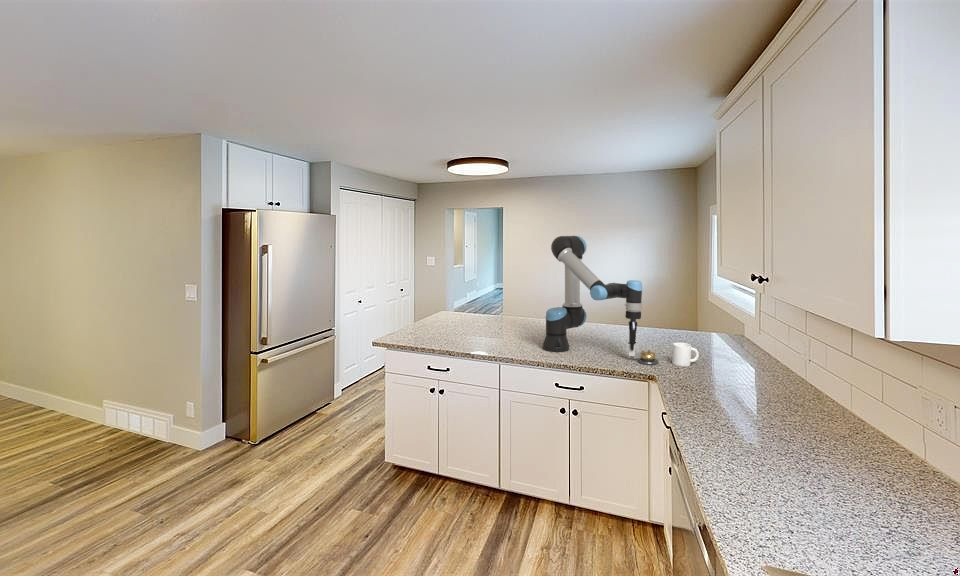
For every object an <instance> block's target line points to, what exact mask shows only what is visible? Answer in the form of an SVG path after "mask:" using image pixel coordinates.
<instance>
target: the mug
mask: <svg viewBox="0 0 960 576" xmlns="http://www.w3.org/2000/svg"><path fill="white" fill-rule="evenodd" d="M692 352H694V353H695V357H694V358H692ZM671 357H672V358H671V360H672V361H671V363H672V365H673V366H676V367H681V368H688V367H690V366H691V363H694V362H696V361H698V359H699V357H700V353H699V351H698V350H697V348H695V347H692V344H690V343H686V342H673V343H672V355H671Z"/></svg>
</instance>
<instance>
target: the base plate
mask: <svg viewBox="0 0 960 576" xmlns="http://www.w3.org/2000/svg"><path fill="white" fill-rule="evenodd" d="M636 361H637V363H638V364H641V365H646V366H656V365H659V360H658V359H657V358H655V361H643V360H641V359H638V358H636Z"/></svg>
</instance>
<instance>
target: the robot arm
mask: <svg viewBox="0 0 960 576" xmlns="http://www.w3.org/2000/svg"><path fill="white" fill-rule="evenodd" d="M587 246H588V245H587V243H586V241H585V239H584V238H583V237H581V236H580V235H560V236H557V237H556V238H554V239H553V240H552V242H551V245H550V249H551V253H552V255H553V256H554V259H555V258H556V260H557V261H558V262H559V263H560V262H561V263H562V264H564V303H563V304H562V305H561V306H562V307H561V306H558V307H551V308H549V309H547V311H546V313H545V314H546V315H545V337H544V339H543V340H544V341H543V343H542V350H545V351H546V352H553V353H554V352H555V353H562V352H567V351H569V350H570V343H569V341H568V337H567V330H568V329H573V328H574V329H575V328H579V327H581V326H583V325H584V324H585V323H586V320H587V312H586V310H585V309H584V308H583V304H582V303H581V301H580V300H581V296H580V295H581V294H580V293H581V292H580V290H581V288H580V287H581V285H580V284H581V283H582V284H583V285H584V286H585V287H586V288H587V289H588V290H589V294H590V297H591V299H592V300H594V301H604V300H605V301H606V300H610V299H611V300H612V299H616V298H617V299H625V303H624V306H625V318H626V319H628V320H629V321H628V329H629V335H628V336H629V337H628V345H629V346H628V357H630V356H635V352H636V344H637V342H636V340H637V339H636V337H637V326H638V322H637V320H640V319H642V304H643V302H642V298H643V297H642V296H643V283H642V282H643V281H641V280H627V281H626V283H618V282H608V283H607V284H605V283H604V281H602V280H601V279H599V277H598V276H597V275H596V274H595V273H594V272H593V271H592V270H591V269H590V268H589V267H588V266H587V265H586V264H584V262H583V261H582V260H583V255H585V253H586V251H587Z"/></svg>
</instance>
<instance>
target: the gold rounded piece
mask: <svg viewBox="0 0 960 576" xmlns="http://www.w3.org/2000/svg"><path fill="white" fill-rule="evenodd" d="M629 357H630V358H631V359H641V360H643V361H655V359H656V352H654V351H651V350H650V349H649V350H647V351H644V350H641V351H640V352H637V351H635V356H629Z"/></svg>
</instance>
